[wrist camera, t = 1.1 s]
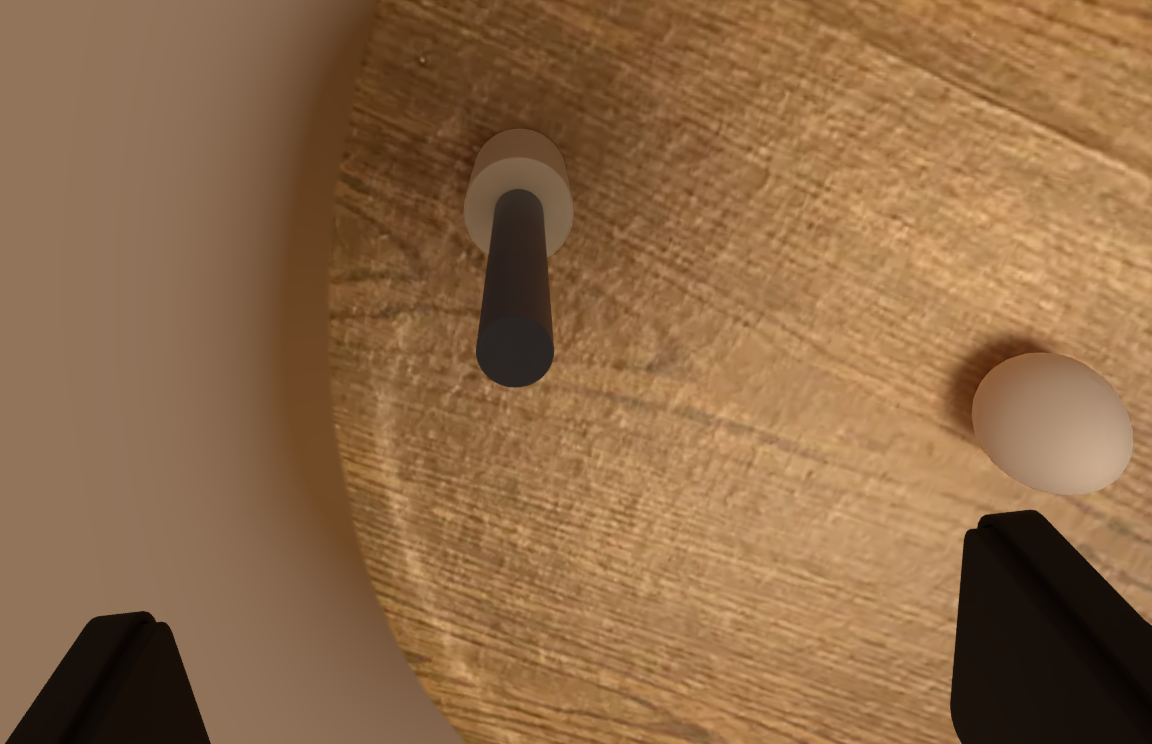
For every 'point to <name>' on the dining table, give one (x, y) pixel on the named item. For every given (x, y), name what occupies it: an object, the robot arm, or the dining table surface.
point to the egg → (1052, 424)
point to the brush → (517, 250)
